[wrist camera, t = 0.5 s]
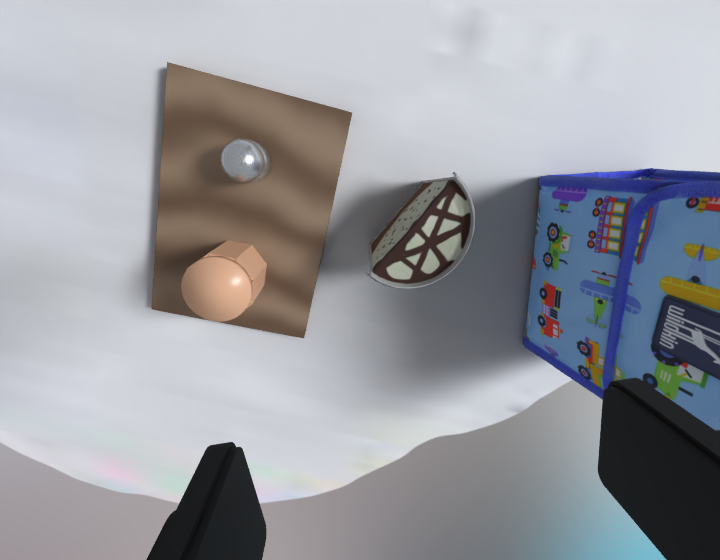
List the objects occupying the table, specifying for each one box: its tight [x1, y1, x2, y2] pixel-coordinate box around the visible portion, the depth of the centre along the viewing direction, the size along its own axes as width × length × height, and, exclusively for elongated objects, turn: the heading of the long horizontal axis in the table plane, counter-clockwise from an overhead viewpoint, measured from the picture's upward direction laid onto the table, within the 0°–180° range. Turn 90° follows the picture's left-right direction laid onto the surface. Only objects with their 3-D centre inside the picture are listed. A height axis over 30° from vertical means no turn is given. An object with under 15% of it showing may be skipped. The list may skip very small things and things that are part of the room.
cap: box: [181, 240, 267, 322], centre depth 36 cm, size 6×6×7 cm
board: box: [152, 62, 352, 338], centre depth 38 cm, size 26×18×2 cm
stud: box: [220, 138, 272, 183], centre depth 33 cm, size 4×4×6 cm
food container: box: [366, 172, 475, 289], centre depth 36 cm, size 12×6×10 cm, turn 140°
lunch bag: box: [523, 168, 720, 433], centre depth 29 cm, size 22×14×29 cm, turn 3°
